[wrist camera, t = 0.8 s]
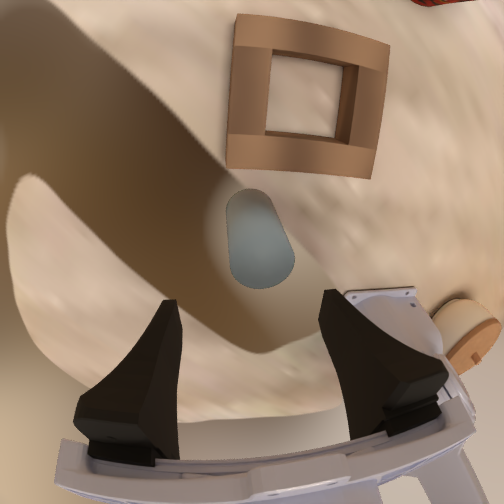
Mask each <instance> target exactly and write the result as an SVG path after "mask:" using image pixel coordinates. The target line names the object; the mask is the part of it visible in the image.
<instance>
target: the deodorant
mask: <svg viewBox="0 0 504 504" xmlns="http://www.w3.org/2000/svg"><path fill="white" fill-rule="evenodd" d="M411 1H413V2H415V3H417V4H419V5H421V6H426V7H431V6H436V5H442V4H449V3H456V2H464V1H474V0H411Z"/></svg>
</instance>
